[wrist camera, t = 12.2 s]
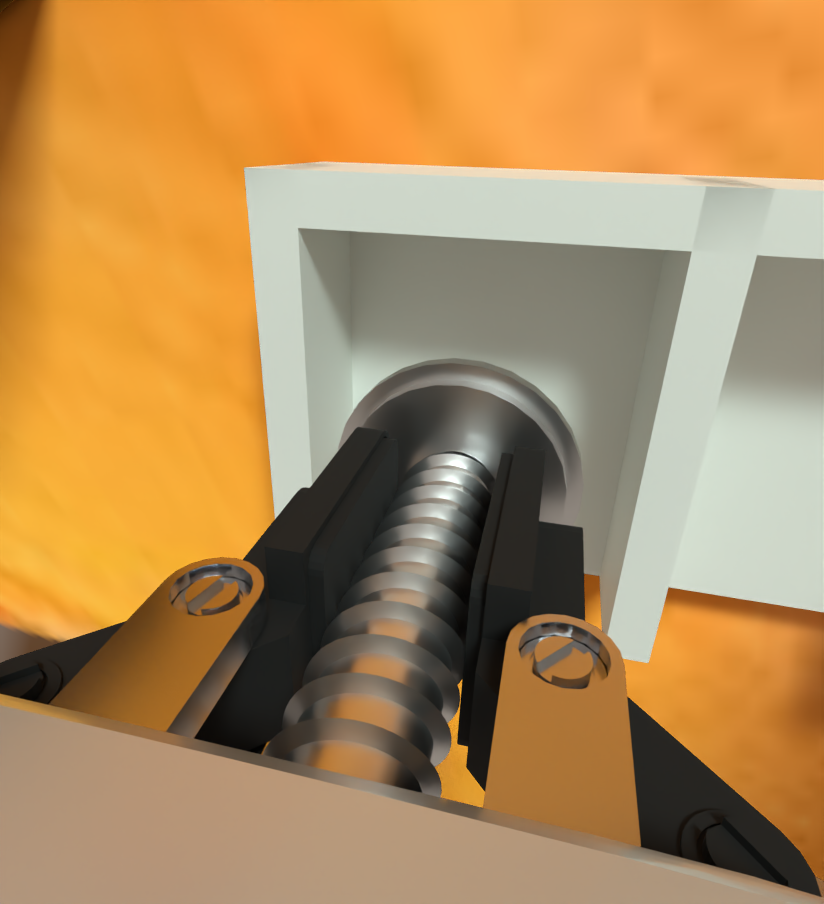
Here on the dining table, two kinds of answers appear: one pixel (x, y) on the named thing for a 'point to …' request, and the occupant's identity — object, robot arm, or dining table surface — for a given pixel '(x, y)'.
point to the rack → (575, 349)
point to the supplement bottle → (4, 4)
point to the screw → (421, 571)
